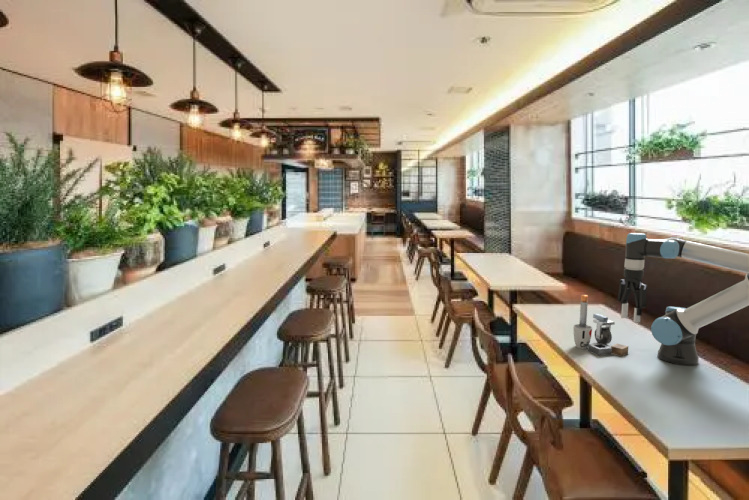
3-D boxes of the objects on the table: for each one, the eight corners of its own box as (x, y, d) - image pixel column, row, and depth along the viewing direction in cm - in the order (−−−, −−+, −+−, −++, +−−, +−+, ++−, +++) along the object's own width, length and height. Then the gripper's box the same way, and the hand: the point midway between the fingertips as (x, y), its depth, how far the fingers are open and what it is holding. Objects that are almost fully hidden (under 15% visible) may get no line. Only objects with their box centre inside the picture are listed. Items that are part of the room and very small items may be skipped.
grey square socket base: (611, 354, 214) (612, 347, 213) (598, 355, 212) (599, 349, 211) (600, 349, 220) (601, 343, 220) (587, 350, 219) (588, 344, 218)
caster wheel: (614, 345, 225) (616, 318, 224) (602, 347, 224) (604, 319, 222) (599, 339, 235) (601, 313, 233) (587, 340, 233) (589, 314, 231)
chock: (627, 353, 215) (628, 346, 215) (621, 356, 211) (622, 349, 211) (616, 350, 219) (617, 343, 219) (610, 353, 215) (610, 346, 215)
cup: (580, 350, 219) (581, 329, 217) (568, 345, 226) (569, 324, 225) (594, 349, 221) (596, 328, 219) (582, 343, 228) (584, 323, 227)
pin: (587, 327, 221) (589, 296, 219) (582, 327, 220) (584, 296, 218) (583, 325, 224) (585, 294, 222) (577, 325, 223) (579, 294, 221)
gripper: (659, 271, 197) (655, 325, 200) (624, 264, 216) (620, 313, 219) (644, 272, 195) (640, 326, 198) (610, 265, 214) (607, 315, 217)
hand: (630, 319), depth 208 cm, fingers open, 6 cm apart
